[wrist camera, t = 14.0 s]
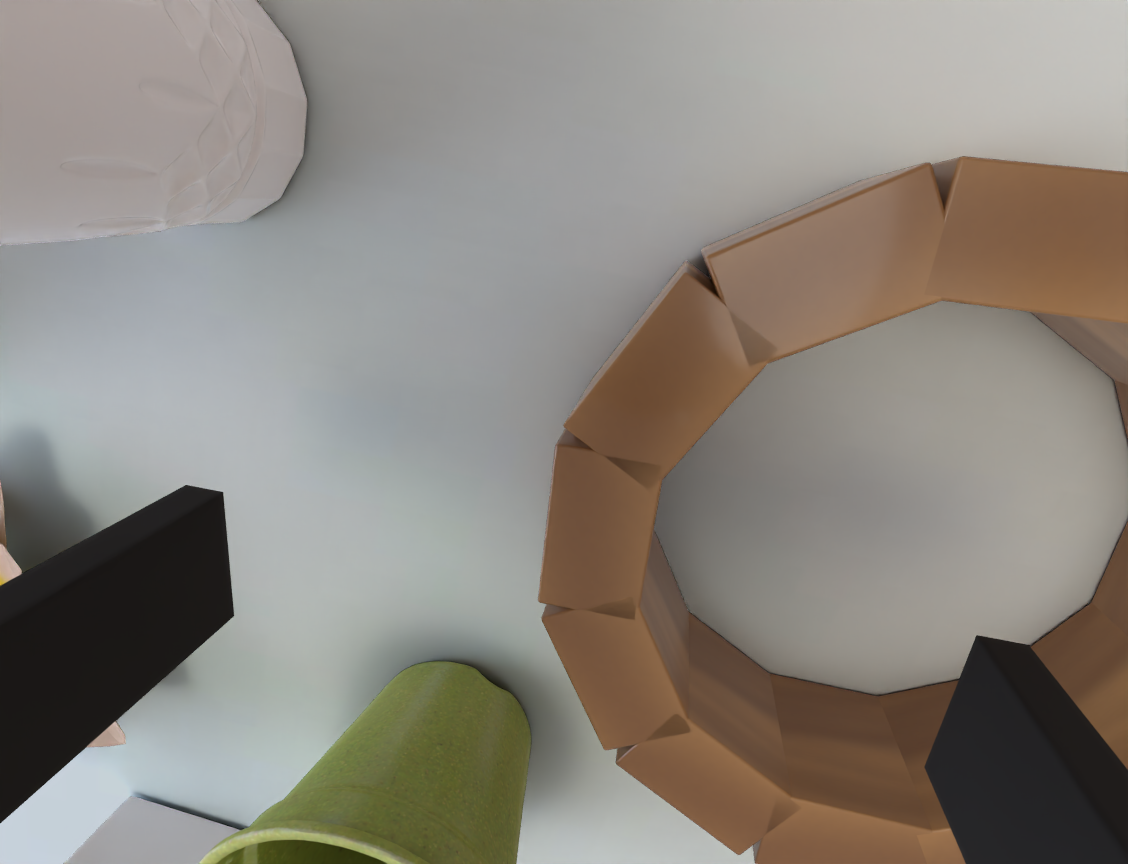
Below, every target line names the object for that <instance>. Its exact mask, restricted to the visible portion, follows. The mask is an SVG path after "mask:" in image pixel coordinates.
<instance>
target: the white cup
mask: <svg viewBox="0 0 1128 864" xmlns="http://www.w3.org/2000/svg"><path fill="white" fill-rule="evenodd" d="M306 113H307V98H306V95H305V91H304V88H303V85H302V81H301V78H300V75H299V71H298V68H297V65H296V62H295V58H294V55H293V52H292V48H291V45H290V43H289V42H288V40H287V39H286V38H285V36H284V35H283V34H282V33H281V31H280V30H279V29H278V28H277V26H276V25H275V24H274V22H273V21H272V20H271V19H270V17H269V16H268V15H267V13H266V12H265V11H264V10H263V8H262V7H261V6H260V4H259V3H258V2H257V1H256V0H0V246H2V245H17V244H31V243H46V242H63V241H75V240H84V239H91V238H98V237H105V236H122V235H133V234H141V233H149V232H161V231H163V230H167V229H170V228H174V227H178V226H187V225H195V224H213V223H235V222H243V221H245V220H247V219H248V218H250V217H252V216H253V215H255V214H256V213H258V212H260V211H261V210H263V209H264V208H266V207H268V206H269V205H271V204H272V203H274V202H276V201H277V200H279V199H280V198H281V196H282V195H283V193H284V191H285V189H286V187H287V185H288V183H289V182H290V180H291V178H292V176H293V174H294V172H295V171H296V169H297V167H298V165H299V163H300V161H301V159H302V158H303V154H304V141H305V127H306Z"/></svg>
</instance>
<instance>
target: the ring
mask: <svg viewBox="0 0 1128 864" xmlns="http://www.w3.org/2000/svg"><path fill="white" fill-rule="evenodd" d="M701 253H702V256H703V259H704V262H705V264H706V267H707V270H708V273H709V275H710V278H711V279H710V278H709V277H708V276H706V275H705V274H704V273H702V272H701V271H700V270H699V269H697V268H696V267H695V266H694V265H692V264H691V263H690V262H689V261H687V260H686V261H684V263H683V264H682V265H681V266H680V268H679V269H678V270H677V272H676V273H675V274H674V275H673V277H672V278H671V279H670V280H669V282H668V283H667V284H666V286H665V287H664V288H663V289H662V291H661V292H660V293H659V294H658V296H657V297H656V298H655V300H654V301H653V302H652V303H651V305H650V306H649V307H648V308H647V310H646V311H645V312H644V314H643V315H642V316H641V317H640V319H639V320H638V321H637V322H636V324H635V325H634V326H633V328H632V329H631V330H630V331H629V333H628V334H627V335H626V336H625V338H624V339H623V340H622V341H621V343H620V344H619V345H618V347H617V348H616V349H615V350H614V352H613V353H612V354H611V355H610V357H609V358H608V359H607V361H606V362H605V363H604V364H603V366H602V367H601V368H600V369H599V371H598V372H597V373H596V375H595V376H594V377H593V379H592V380H591V382H590V383H589V385H588V387H587V388H586V390H585V391H584V393H583V394H582V396H581V398H580V399H579V401H578V402H577V404H576V406H575V407H574V409H573V410H572V412H571V413H570V415H569V417H568V418H567V420H566V421H565V423H564V425H563V426H564V428H566V429H565V430H564V432H563V434H562V435H561V437H560V439H559V440H558V442H557V444H556V445H555V452H554V461H553V470H552V478H551V487H550V496H549V505H548V514H547V523H546V532H545V540H544V549H543V558H542V567H541V576H540V585H539V594H538V601H539V602H540V603H545V604H546V607H545V609H544V612H543V615H542V617H541V619H542V622H543V624H544V626H545V628H546V630H547V632H548V634H549V636H550V638H551V640H552V643H553V645H554V647H555V649H556V651H557V653H558V655H559V657H560V659H561V661H562V663H563V665H564V667H565V669H566V672H567V674H568V676H569V678H570V680H571V682H572V684H573V686H574V688H575V690H576V692H577V694H578V696H579V699H580V701H581V703H582V705H583V707H584V709H585V711H586V713H587V715H588V717H589V719H590V721H591V723H592V725H593V728H594V730H595V732H596V734H597V736H598V738H599V740H600V742H601V744H602V746H603V748H604V750H611V749H616V748H617V756H616V764H617V765H618V766H619V767H621V768H622V769H624V770H625V771H626V772H628V773H629V774H630V775H632V776H633V777H634V778H636V779H637V780H638V781H640V782H641V783H642V784H644V785H645V786H646V787H648V788H649V789H650V790H652V791H653V792H654V793H656V794H657V795H658V796H660V797H661V798H662V799H664V800H665V801H666V802H668V803H669V804H670V805H672V806H673V807H674V808H676V809H677V810H678V811H680V812H681V813H682V814H684V815H685V816H686V817H688V818H689V819H691V820H692V821H693V822H695V823H696V824H697V825H699V826H700V827H701V828H703V829H704V830H705V831H707V832H708V833H709V834H711V835H712V836H713V837H715V838H716V839H717V840H719V841H720V842H721V843H723V844H724V845H725V846H727V847H728V848H729V849H731V850H732V851H733V852H735V853H736V854H738V855H740V854H742V853H743V852H744V851H746V850H747V849H748V848H750V847H751V846H752V845H753V851H754V860H755V863H756V864H966V863H965V861H964V858H963V856H962V854H961V851H960V849H959V847H958V844H957V842H956V840H955V837H954V835H953V833H952V830H951V828H950V826H949V823H948V821H947V819H946V816H945V814H944V812H943V809H942V807H941V805H940V802H939V800H938V798H937V795H936V793H935V791H934V789H933V786H932V784H931V782H930V779H929V777H928V775H927V772H926V770H925V768H924V766H925V764H926V761H927V759H928V756H929V754H930V751H931V749H932V746H933V744H934V741H935V739H936V736H937V734H938V731H939V729H940V726H941V724H942V721H943V719H944V716H945V714H946V711H947V709H948V706H949V704H950V701H951V698H952V696H953V693H954V691H955V688H956V686H957V683H958V681H959V680H957V681H952V682H947V683H942V684H937V685H932V686H927V687H922V688H917V689H912V690H907V691H902V692H897V693H892V694H887V695H882V696H874V695H869V694H864V693H859V692H855V691H850V690H845V689H840V688H836V687H831V686H826V685H821V684H817V683H812V682H807V681H803V680H798V679H793V678H788V677H784V676H779V675H774V674H769V673H768V672H767V671H765V670H764V669H763V668H761V667H760V666H759V665H757V664H756V663H755V662H753V661H752V660H751V659H750V658H748V657H747V656H746V655H744V654H743V653H742V652H740V651H739V650H738V649H736V648H735V647H734V646H733V645H731V644H730V643H729V642H727V641H726V640H725V639H723V638H722V637H721V636H719V635H718V634H717V633H716V632H714V631H713V630H712V629H710V628H709V627H708V626H706V625H705V624H704V623H702V622H701V621H700V620H699V619H697V618H696V617H695V616H693V615H692V614H691V613H689V612H688V609H687V607H686V604H685V602H684V600H683V597H682V595H681V593H680V590H679V588H678V585H677V583H676V581H675V578H674V576H673V574H672V571H671V569H670V566H669V564H668V562H667V559H666V557H665V555H664V552H663V550H662V547H661V545H660V543H659V540H658V538H657V536H656V533H655V531H654V525H655V519H656V514H657V508H658V502H659V497H660V491H661V485H662V480H663V479H664V478H665V476H666V475H667V474H668V473H669V472H670V471H671V470H672V469H673V468H674V467H675V465H676V464H677V463H678V462H679V461H680V460H681V459H682V458H683V457H684V455H685V454H686V453H687V452H688V451H689V450H690V449H691V448H692V447H693V446H694V444H695V443H696V442H697V441H698V440H699V439H700V438H701V437H702V436H703V435H704V433H705V432H706V431H707V430H708V429H709V428H710V427H711V426H712V425H713V423H714V422H715V421H716V420H717V419H718V418H719V417H720V416H721V415H722V414H723V412H724V411H725V410H726V409H727V408H728V407H729V406H730V405H731V404H732V402H733V401H734V400H735V399H736V398H737V397H738V396H739V395H740V394H741V393H742V391H743V390H744V389H745V388H746V387H747V386H748V385H749V384H750V383H751V381H752V380H753V379H754V378H755V377H756V376H757V375H758V374H759V373H760V372H761V370H762V369H763V368H764V367H765V366H766V365H767V364H768V363H771V362H774V361H776V360H779V359H782V358H785V357H787V356H790V355H793V354H796V353H798V352H801V351H804V350H807V349H809V348H812V347H815V346H818V345H821V344H823V343H826V342H829V341H832V340H834V339H837V338H840V337H843V336H845V335H848V334H851V333H854V332H856V331H859V330H862V329H865V328H867V327H870V326H873V325H876V324H879V323H881V322H884V321H887V320H890V319H892V318H895V317H898V316H901V315H903V314H906V313H909V312H912V311H914V310H917V309H920V308H923V307H925V306H928V305H931V304H934V303H937V302H939V301H948V302H956V303H964V304H972V305H980V306H988V307H996V308H1004V309H1012V310H1020V311H1027V312H1031V313H1032V314H1033V315H1035V316H1036V317H1037V318H1038V319H1040V320H1041V321H1042V322H1043V323H1045V324H1046V325H1047V326H1048V327H1049V328H1051V329H1052V330H1053V331H1054V332H1056V333H1057V334H1058V335H1059V336H1061V337H1062V338H1063V339H1064V340H1065V341H1067V342H1068V343H1069V344H1070V345H1072V346H1073V347H1074V348H1075V349H1076V350H1078V351H1079V352H1080V353H1081V354H1083V355H1084V356H1085V357H1086V358H1088V359H1089V360H1090V361H1091V362H1092V363H1094V364H1095V365H1096V366H1097V367H1099V368H1100V369H1101V370H1102V371H1104V372H1105V373H1106V374H1107V375H1108V376H1110V377H1111V378H1112V379H1113V380H1114V381H1115V386H1116V390H1117V394H1118V399H1119V403H1120V408H1121V412H1122V416H1123V421H1124V425H1125V429H1126V434H1127V438H1128V172H1123V171H1112V170H1102V169H1091V168H1081V167H1070V166H1060V165H1049V164H1039V163H1028V162H1018V161H1007V160H997V159H987V158H976V157H966V156H962V157H958V158H954V159H951V160H947V161H943V162H939V163H935V164H930V163H923V164H919V165H915V166H912V167H908V168H904V169H901V170H897V171H893V172H890V173H886V174H882V175H878V176H875V177H871V178H867V179H864V180H860V181H858V182H855V183H853V184H851V185H848V186H846V187H844V188H841V189H839V190H837V191H834V192H832V193H830V194H827V195H825V196H823V197H820V198H818V199H816V200H813V201H811V202H808V203H806V204H804V205H801V206H799V207H797V208H794V209H792V210H790V211H787V212H785V213H783V214H780V215H778V216H776V217H773V218H771V219H769V220H766V221H764V222H762V223H759V224H757V225H755V226H752V227H750V228H748V229H745V230H743V231H741V232H738V233H736V234H734V235H731V236H729V237H727V238H724V239H722V240H720V241H717V242H715V243H713V244H710V245H708V246H705V247H703V248H702V249H701ZM1031 648H1032V650H1033V651H1034V652H1035V653H1036V655H1037V656H1038V657H1039V658H1040V660H1041V661H1042V662H1043V663H1044V665H1045V666H1046V667H1047V669H1048V670H1049V671H1050V672H1051V674H1052V675H1053V676H1054V677H1055V679H1056V680H1057V681H1058V682H1059V684H1060V685H1061V686H1062V687H1063V689H1064V690H1065V691H1066V692H1067V694H1068V695H1069V696H1070V697H1071V699H1072V700H1073V701H1074V703H1075V704H1076V705H1077V706H1078V708H1079V709H1080V710H1081V711H1082V713H1083V714H1084V715H1085V716H1086V718H1087V719H1088V720H1089V721H1090V723H1091V724H1092V725H1093V726H1094V728H1095V729H1096V730H1097V731H1098V733H1099V734H1100V735H1101V737H1102V738H1103V739H1104V740H1105V742H1106V743H1107V744H1108V745H1109V747H1110V748H1111V749H1112V750H1113V752H1114V753H1115V754H1116V755H1117V757H1118V758H1119V759H1120V760H1121V762H1122V763H1123V764H1124V765H1125V767H1126V768H1127V769H1128V522H1127V524H1126V526H1125V529H1124V531H1123V533H1122V535H1121V537H1120V540H1119V542H1118V544H1117V546H1116V549H1115V551H1114V553H1113V555H1112V558H1111V560H1110V562H1109V564H1108V566H1107V569H1106V571H1105V573H1104V575H1103V578H1102V580H1101V582H1100V584H1099V586H1098V589H1097V591H1096V593H1095V595H1094V598H1093V600H1092V602H1091V603H1090V604H1089V605H1087V606H1086V607H1085V608H1083V609H1082V610H1080V611H1079V612H1078V613H1076V614H1075V615H1074V616H1072V617H1071V618H1069V619H1068V620H1067V621H1065V622H1064V623H1063V624H1061V625H1060V626H1058V627H1057V628H1056V629H1054V630H1053V631H1052V632H1050V633H1049V634H1047V635H1046V636H1045V637H1043V638H1042V639H1041V640H1039V641H1038V642H1036V643H1035V644H1034V645H1032V646H1031Z"/></svg>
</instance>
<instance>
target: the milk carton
mask: <svg viewBox="0 0 1128 864" xmlns="http://www.w3.org/2000/svg"><path fill="white" fill-rule="evenodd" d="M238 831H240V830H239V829H235V828H232V827H229V826H226V825H223V824H220V823H217V822H213V821H210V820H207V819H204V818H201V817H198V816H195V815H191V814H188V813H185V812H182V811H179V810H176V809H172V808H169V807H166V806H163V805H160V804H157V803H153V802H150V801H147V800H144V799H140V798H137V797H134V796H130V797H129V798H128V799H126V800H125V801H124V802H123V803H122V804H121V805H120V806H119V807H118V808H117V810H116V811H115V812H114V813H113V814H112V815H111V816H110V817H109V818H108V819H107V820H106V821H105V822H104V823H103V824H102V825H101V826H100V827H99V828H98V829H97V830H96V831H95V832H94V833H93V834H92V835H91V836H90V837H89V838H88V839H87V840H86V841H85V842H84V843H83V844H82V845H81V846H80V847H79V848H78V849H77V850H76V851H75V852H74V853H73V854H72V855H71V856H70V857H69V858H68V859H67V860H66V861H65V862H64V863H63V864H199V862H200V861H201V860H202V859H203V858H204V857H205V855H206V854H207V853H208V852H209V851H210V850H211V849H212V848H213V847H214V846H216V845H217V844H218V843H219V842H221V841H222V840H224V839H225V838H227V837H229V836H230V835H232V834H234V833H236V832H238Z"/></svg>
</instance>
